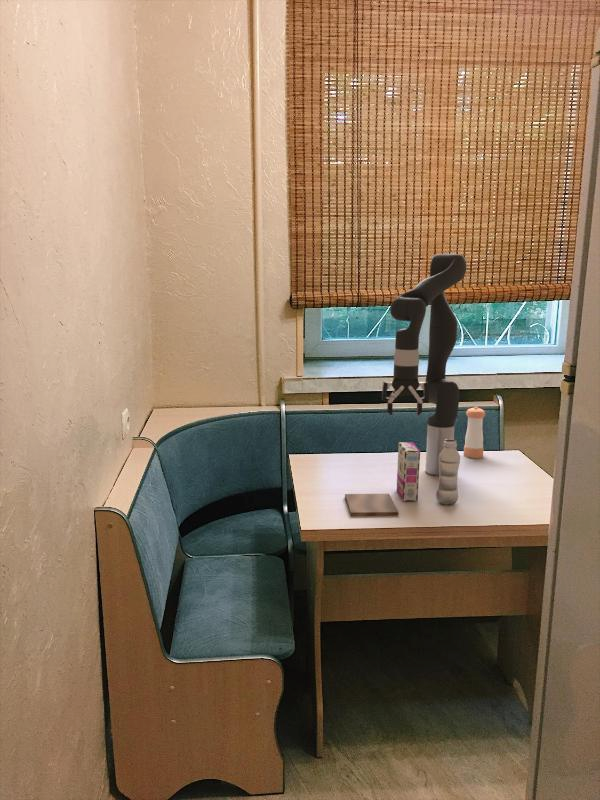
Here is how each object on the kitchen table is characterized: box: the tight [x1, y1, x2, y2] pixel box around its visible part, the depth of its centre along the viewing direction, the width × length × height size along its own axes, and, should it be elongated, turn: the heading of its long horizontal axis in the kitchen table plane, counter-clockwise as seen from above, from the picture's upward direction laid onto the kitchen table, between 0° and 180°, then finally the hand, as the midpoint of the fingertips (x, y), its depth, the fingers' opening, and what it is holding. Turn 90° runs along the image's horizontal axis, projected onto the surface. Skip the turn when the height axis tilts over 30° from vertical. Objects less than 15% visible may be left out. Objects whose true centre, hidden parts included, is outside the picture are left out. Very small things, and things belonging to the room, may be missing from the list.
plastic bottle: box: [435, 439, 461, 505], centre depth 214 cm, size 6×7×20 cm
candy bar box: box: [396, 441, 421, 503], centre depth 221 cm, size 11×5×16 cm, turn 3°
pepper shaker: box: [463, 406, 486, 459], centre depth 265 cm, size 7×7×19 cm
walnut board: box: [344, 493, 399, 517], centre depth 213 cm, size 14×16×1 cm
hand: (404, 414), depth 218 cm, fingers open, 8 cm apart
